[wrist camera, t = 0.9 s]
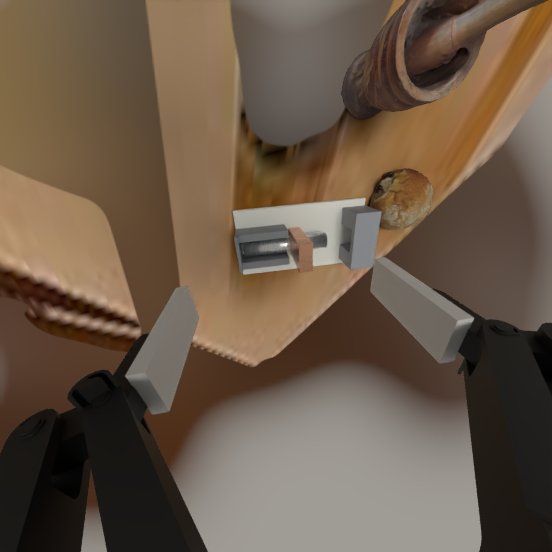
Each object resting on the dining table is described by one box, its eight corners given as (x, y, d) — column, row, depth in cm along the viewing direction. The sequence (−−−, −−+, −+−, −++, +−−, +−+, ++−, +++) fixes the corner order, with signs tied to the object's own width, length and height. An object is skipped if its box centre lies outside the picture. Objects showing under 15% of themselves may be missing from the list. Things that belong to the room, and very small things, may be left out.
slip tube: (242, 233, 36) (240, 251, 29) (321, 224, 37) (340, 240, 30) (245, 256, 38) (245, 279, 31) (321, 247, 39) (338, 267, 32)
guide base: (233, 210, 35) (230, 218, 30) (362, 197, 37) (383, 203, 31) (243, 272, 41) (242, 289, 36) (355, 258, 43) (371, 273, 37)
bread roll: (360, 221, 43) (382, 248, 38) (363, 177, 35) (391, 203, 30) (407, 202, 42) (435, 227, 38) (421, 152, 34) (459, 175, 29)
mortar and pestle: (396, 2, 26) (701, -330, 9) (425, 69, 30) (683, -69, 12) (327, 86, 29) (445, -33, 12) (360, 138, 33) (490, 107, 15)
